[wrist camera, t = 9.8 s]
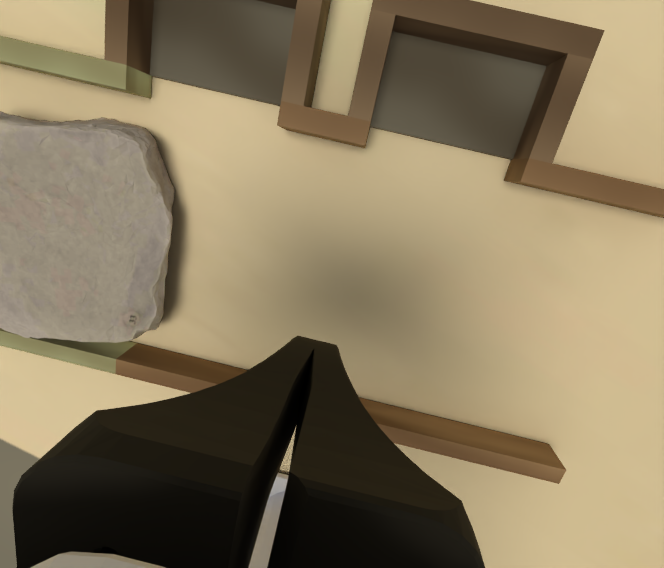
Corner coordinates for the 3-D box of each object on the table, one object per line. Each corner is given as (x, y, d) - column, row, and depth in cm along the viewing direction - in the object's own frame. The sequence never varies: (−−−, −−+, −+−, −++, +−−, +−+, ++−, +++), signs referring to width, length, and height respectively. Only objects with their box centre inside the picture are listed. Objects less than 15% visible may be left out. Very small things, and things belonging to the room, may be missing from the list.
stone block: (182, 121, 20) (-16, 112, 19) (151, 113, 16) (-110, 100, 15) (200, 315, 24) (38, 318, 23) (180, 352, 20) (-23, 358, 19)
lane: (542, 456, 22) (558, 483, 20) (-31, 316, 23) (-67, 329, 21) (734, 82, 16) (784, 70, 14) (-75, -100, 16) (-133, -135, 15)
